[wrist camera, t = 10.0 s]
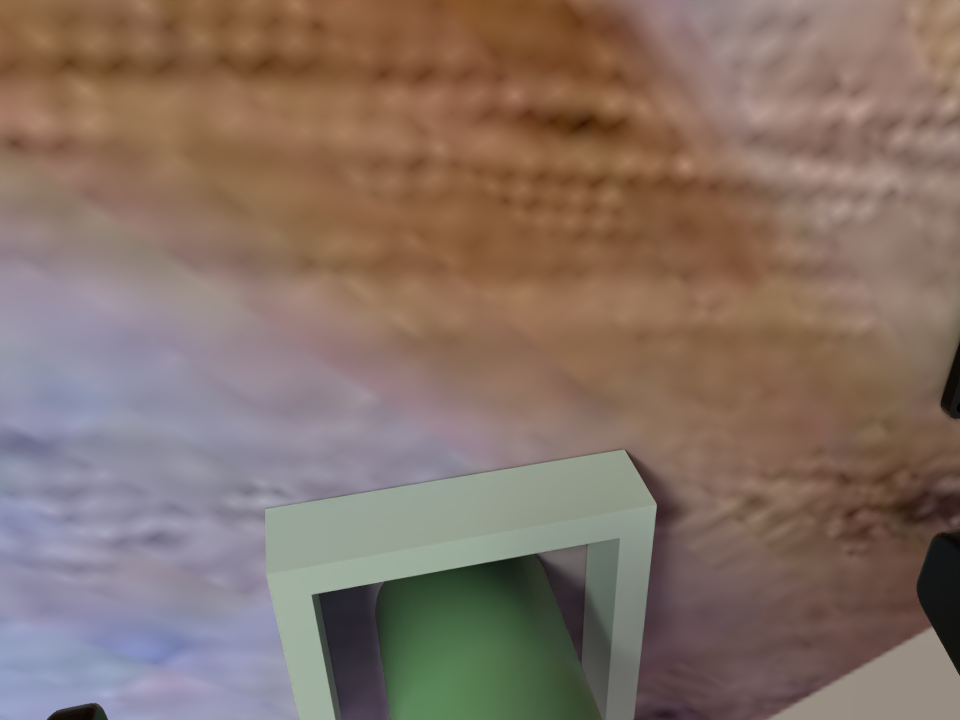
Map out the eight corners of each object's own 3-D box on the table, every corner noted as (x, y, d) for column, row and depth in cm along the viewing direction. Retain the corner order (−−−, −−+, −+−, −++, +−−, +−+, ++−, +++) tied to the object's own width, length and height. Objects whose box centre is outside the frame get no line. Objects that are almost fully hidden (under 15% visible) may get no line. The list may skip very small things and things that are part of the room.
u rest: (624, 449, 26) (657, 504, 24) (608, 659, 31) (633, 719, 29) (265, 509, 24) (266, 574, 22) (311, 721, 29) (315, 790, 27)
